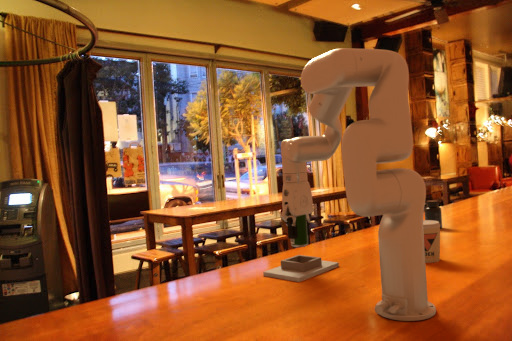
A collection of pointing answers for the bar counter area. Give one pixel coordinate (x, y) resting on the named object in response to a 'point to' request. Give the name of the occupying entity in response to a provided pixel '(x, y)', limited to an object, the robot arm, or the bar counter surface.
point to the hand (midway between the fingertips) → (299, 236)
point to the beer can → (300, 232)
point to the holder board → (300, 268)
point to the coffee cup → (431, 240)
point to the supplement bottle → (433, 212)
